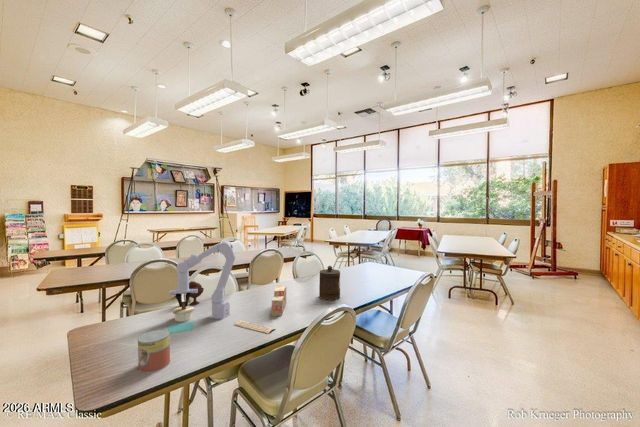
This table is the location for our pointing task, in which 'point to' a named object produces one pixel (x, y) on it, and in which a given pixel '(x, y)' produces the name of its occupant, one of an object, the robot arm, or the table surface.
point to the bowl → (183, 316)
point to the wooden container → (329, 284)
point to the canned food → (153, 351)
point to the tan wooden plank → (253, 327)
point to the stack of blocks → (279, 301)
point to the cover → (183, 309)
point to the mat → (180, 327)
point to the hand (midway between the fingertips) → (183, 306)
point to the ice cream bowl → (194, 295)
